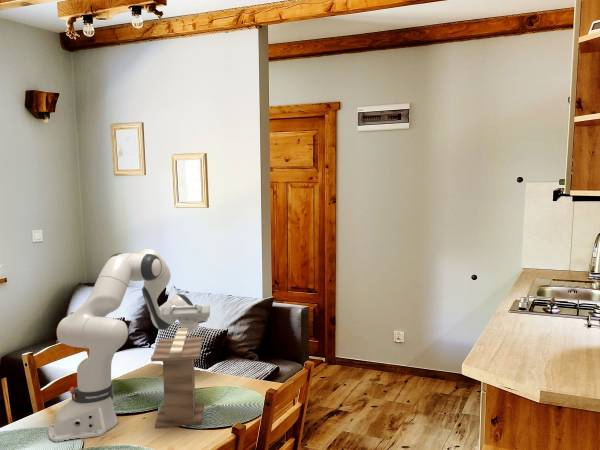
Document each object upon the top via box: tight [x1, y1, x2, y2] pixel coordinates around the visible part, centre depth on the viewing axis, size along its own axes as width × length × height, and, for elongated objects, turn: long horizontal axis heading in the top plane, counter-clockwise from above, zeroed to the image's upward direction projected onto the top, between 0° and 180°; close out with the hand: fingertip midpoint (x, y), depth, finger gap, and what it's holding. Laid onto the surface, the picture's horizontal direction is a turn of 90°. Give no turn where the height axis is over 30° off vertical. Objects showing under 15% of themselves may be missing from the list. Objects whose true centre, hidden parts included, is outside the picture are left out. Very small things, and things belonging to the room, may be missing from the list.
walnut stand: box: [150, 336, 205, 429], centre depth 187 cm, size 22×16×26 cm
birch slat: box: [169, 327, 189, 358], centre depth 190 cm, size 30×4×2 cm, turn 8°
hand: (184, 307), depth 214 cm, fingers open, 8 cm apart
